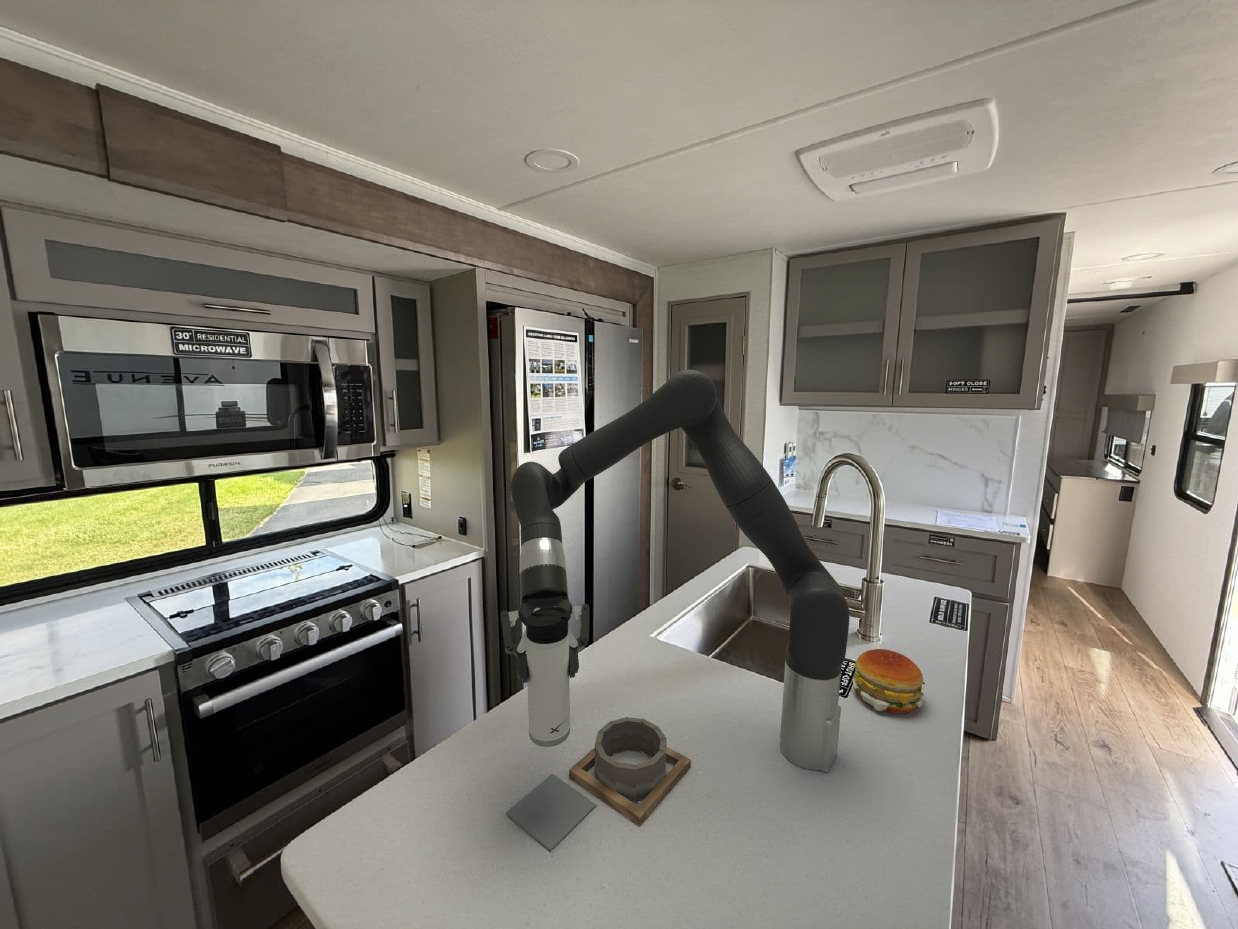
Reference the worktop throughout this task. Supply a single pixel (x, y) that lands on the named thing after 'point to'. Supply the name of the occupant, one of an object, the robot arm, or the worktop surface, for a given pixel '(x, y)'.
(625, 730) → the ring holder
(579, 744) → the worktop surface
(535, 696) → the travel mug
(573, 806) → the coaster
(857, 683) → the burger
